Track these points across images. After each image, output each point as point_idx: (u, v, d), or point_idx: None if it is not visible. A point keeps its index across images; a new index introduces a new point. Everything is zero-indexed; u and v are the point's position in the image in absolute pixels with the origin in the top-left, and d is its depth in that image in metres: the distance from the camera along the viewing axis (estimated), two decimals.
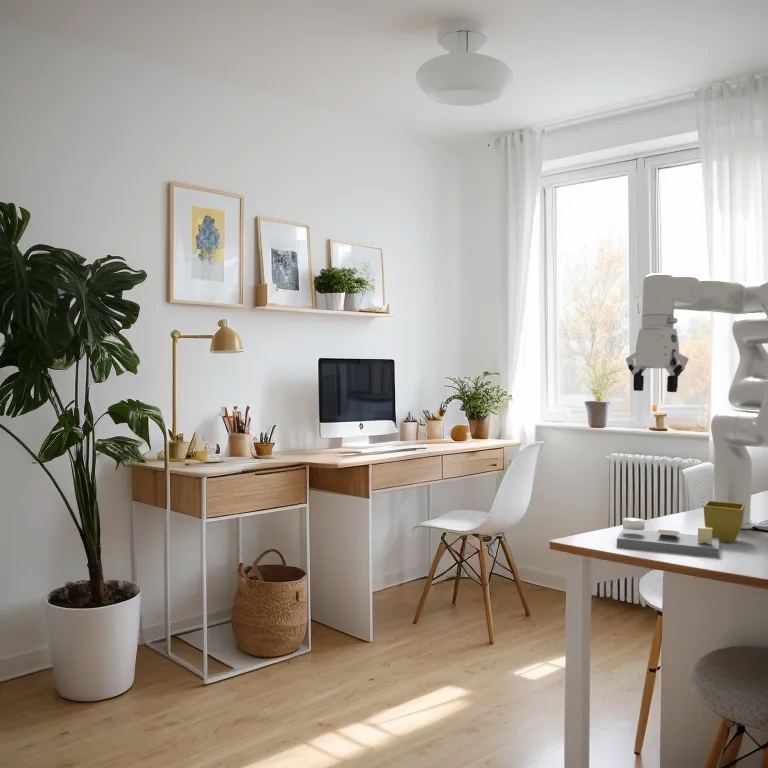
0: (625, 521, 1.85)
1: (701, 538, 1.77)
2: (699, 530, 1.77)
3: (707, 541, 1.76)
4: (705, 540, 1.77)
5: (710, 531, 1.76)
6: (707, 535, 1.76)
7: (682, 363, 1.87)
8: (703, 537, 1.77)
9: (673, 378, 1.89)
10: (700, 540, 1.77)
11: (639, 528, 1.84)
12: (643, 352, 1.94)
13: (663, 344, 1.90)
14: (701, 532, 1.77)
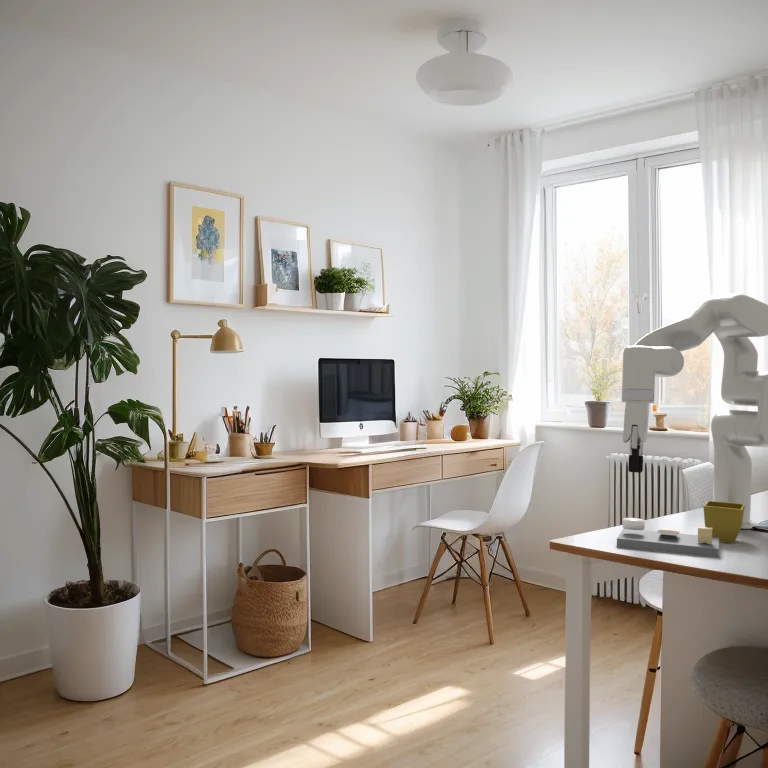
0: (625, 521, 1.85)
1: (701, 538, 1.77)
2: (699, 530, 1.77)
3: (707, 541, 1.76)
4: (705, 540, 1.77)
5: (710, 531, 1.76)
6: (707, 535, 1.76)
7: None
8: (703, 537, 1.77)
9: None
10: (700, 540, 1.77)
11: (639, 528, 1.84)
12: (646, 428, 1.85)
13: None
14: (701, 532, 1.77)
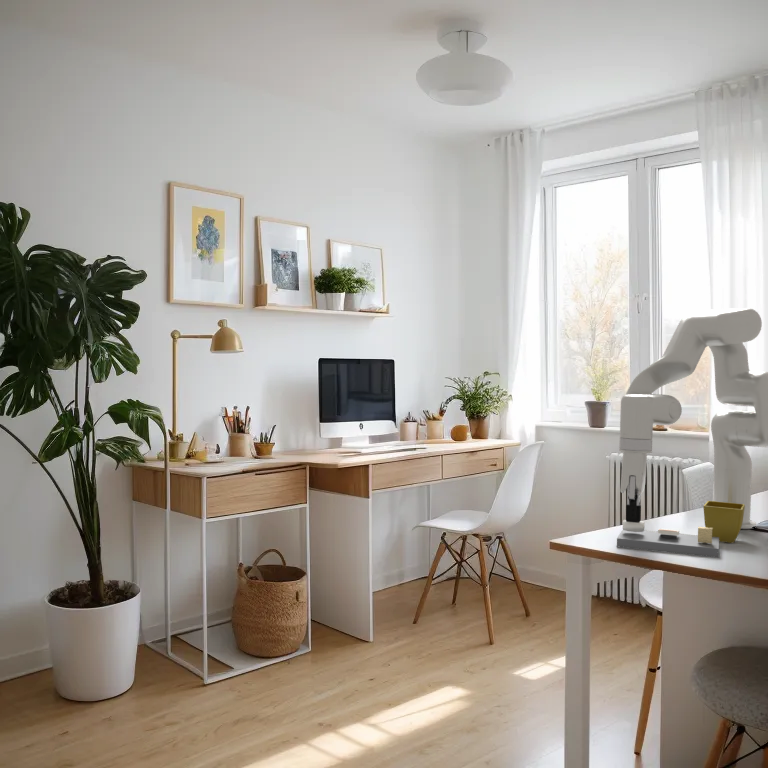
0: (625, 523, 1.85)
1: (701, 538, 1.77)
2: (699, 530, 1.77)
3: (707, 541, 1.76)
4: (705, 540, 1.77)
5: (710, 531, 1.76)
6: (707, 535, 1.76)
7: None
8: (703, 537, 1.77)
9: None
10: (700, 540, 1.77)
11: (639, 530, 1.84)
12: (644, 478, 1.83)
13: None
14: (701, 532, 1.77)
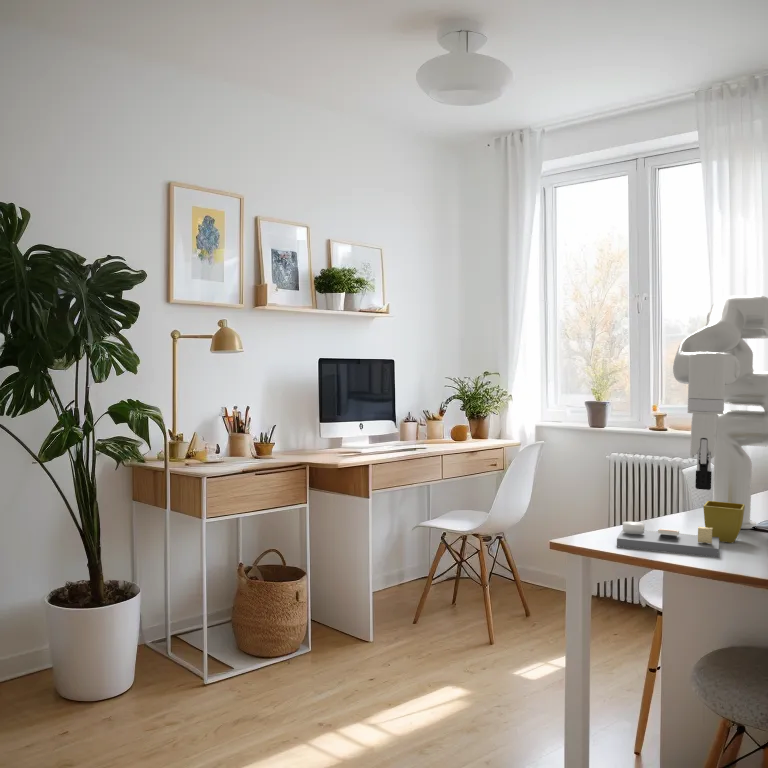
0: (625, 525, 1.85)
1: (701, 538, 1.77)
2: (699, 530, 1.77)
3: (707, 541, 1.76)
4: (705, 540, 1.77)
5: (710, 531, 1.76)
6: (707, 535, 1.76)
7: None
8: (703, 537, 1.77)
9: None
10: (700, 540, 1.77)
11: (639, 532, 1.84)
12: (715, 441, 1.70)
13: None
14: (701, 532, 1.77)
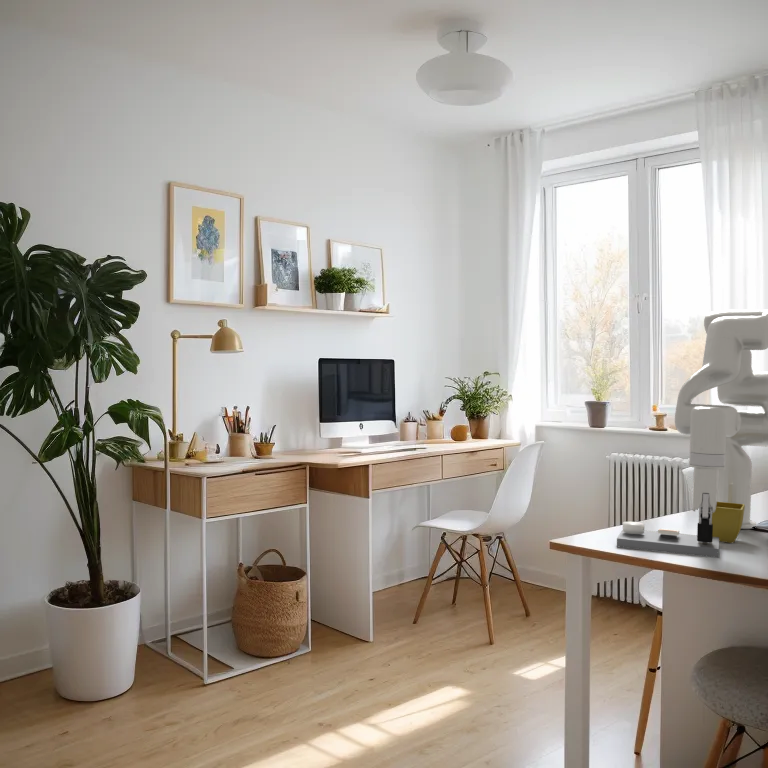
0: (625, 525, 1.85)
1: None
2: None
3: None
4: None
5: None
6: None
7: None
8: None
9: None
10: None
11: (639, 532, 1.84)
12: (717, 495, 1.72)
13: None
14: None
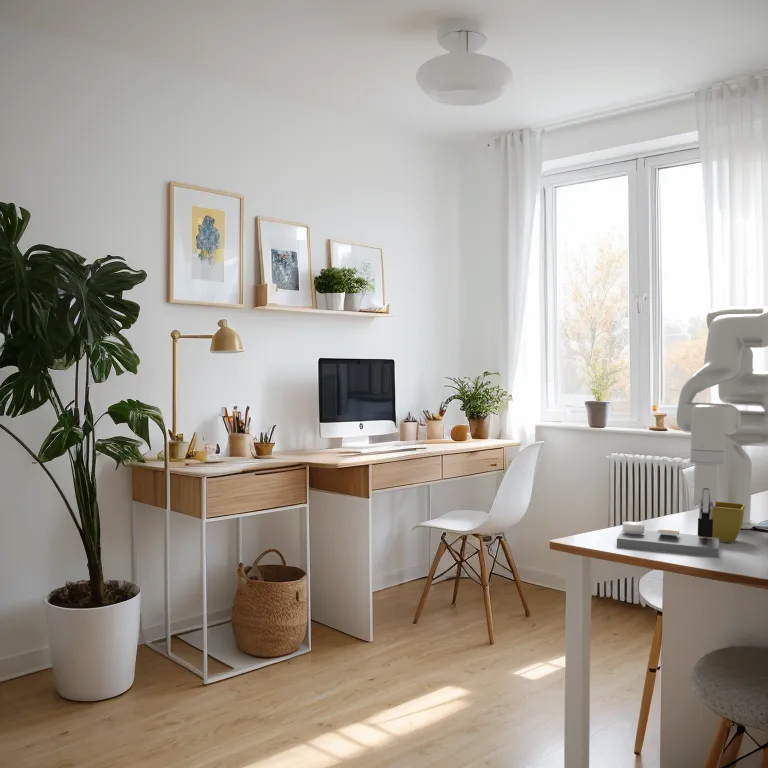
0: (625, 525, 1.85)
1: None
2: None
3: None
4: None
5: None
6: None
7: None
8: None
9: None
10: None
11: (639, 532, 1.84)
12: (717, 491, 1.77)
13: None
14: None
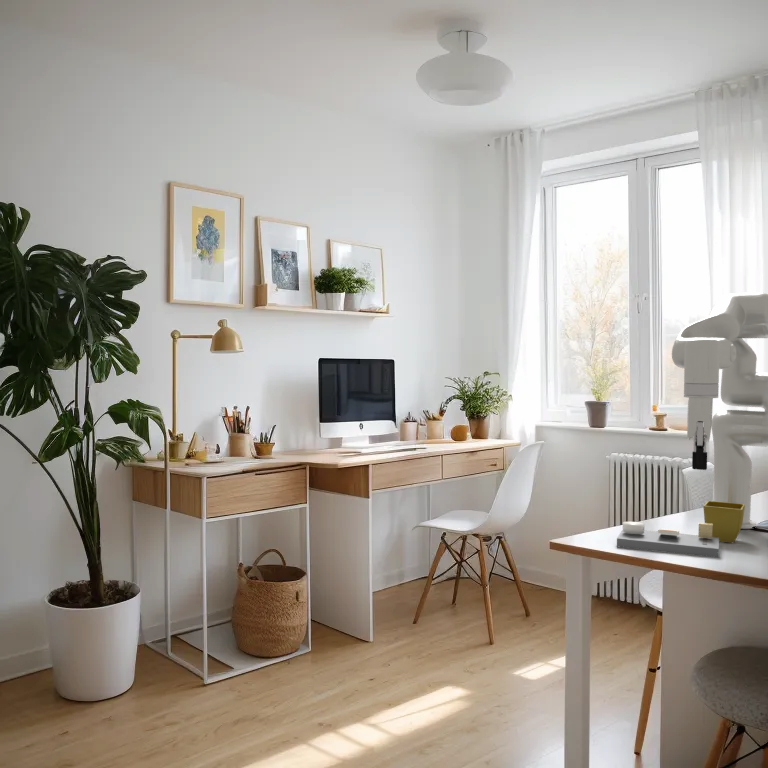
0: (625, 525, 1.85)
1: (701, 534, 1.82)
2: (700, 526, 1.82)
3: (707, 536, 1.82)
4: (705, 536, 1.82)
5: (710, 527, 1.81)
6: (707, 531, 1.82)
7: None
8: (703, 533, 1.82)
9: None
10: (701, 535, 1.82)
11: (639, 532, 1.84)
12: (711, 423, 1.78)
13: None
14: (702, 528, 1.82)
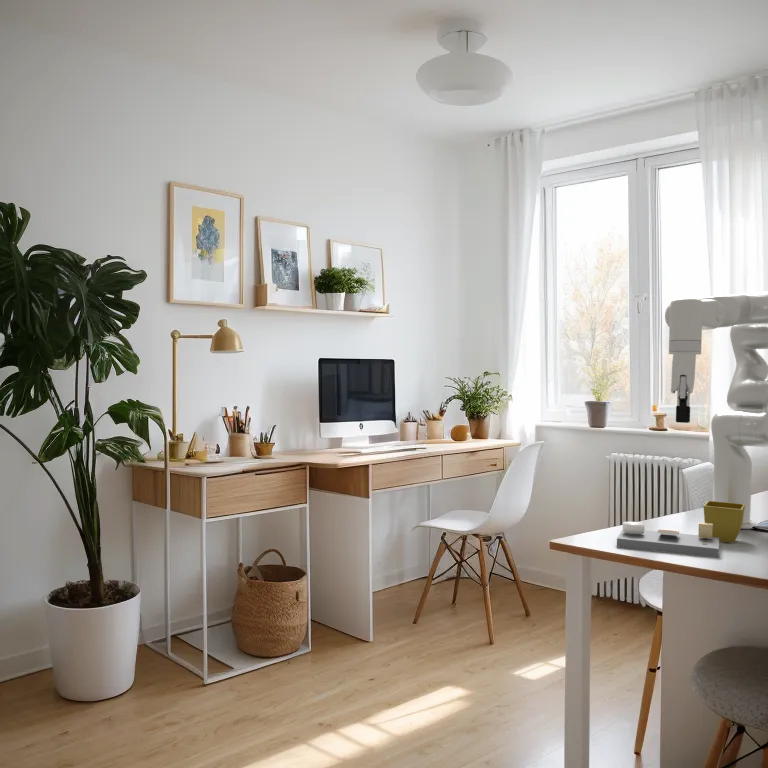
0: (625, 525, 1.85)
1: (701, 534, 1.82)
2: (700, 526, 1.82)
3: (707, 536, 1.82)
4: (705, 536, 1.82)
5: (710, 527, 1.81)
6: (707, 531, 1.82)
7: None
8: (703, 533, 1.82)
9: None
10: (701, 535, 1.82)
11: (639, 532, 1.84)
12: (694, 378, 1.88)
13: None
14: (702, 528, 1.82)
